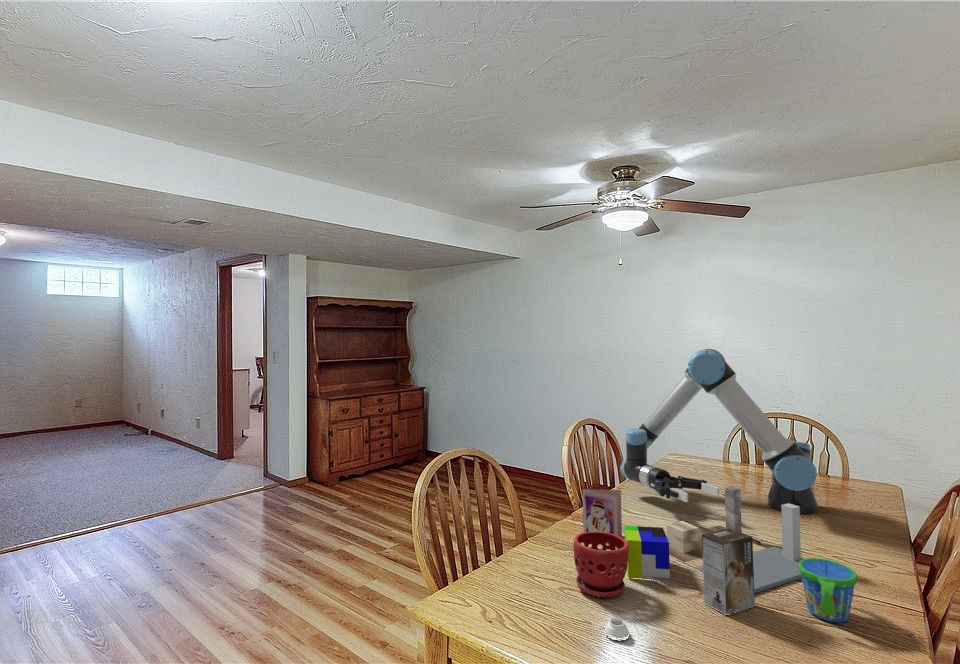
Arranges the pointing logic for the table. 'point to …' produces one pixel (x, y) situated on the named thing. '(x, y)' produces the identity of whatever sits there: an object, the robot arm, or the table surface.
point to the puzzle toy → (647, 552)
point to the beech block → (683, 536)
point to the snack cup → (828, 588)
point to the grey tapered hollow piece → (617, 628)
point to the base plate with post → (779, 554)
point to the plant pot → (601, 563)
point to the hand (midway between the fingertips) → (703, 495)
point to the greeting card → (602, 511)
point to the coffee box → (728, 570)
